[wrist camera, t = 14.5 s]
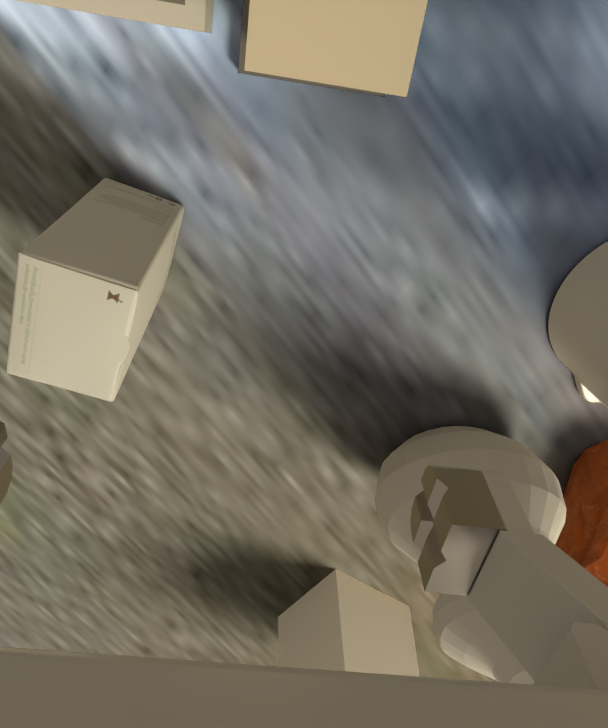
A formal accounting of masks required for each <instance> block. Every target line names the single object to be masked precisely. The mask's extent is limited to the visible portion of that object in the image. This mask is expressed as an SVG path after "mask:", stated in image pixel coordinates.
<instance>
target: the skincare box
mask: <svg viewBox="0 0 608 728" xmlns="http://www.w3.org/2000/svg"><path fill="white" fill-rule="evenodd" d="M183 213H184V206H183V205H180V204H178V203H175V202H172V201H169V200H167V199H164V198H161V197H159V196H156V195H153V194H150V193H148V192H145V191H142V190H139V189H136V188H134V187H131V186H128V185H125V184H122V183H120V182H117V181H114V180H111V179H108V178H104V179H103V180H102V181H101V182H100V183H99V184H97V185H96V186H95V187H94V188H93V189H92V190H90V191H89V192H88V193H87V194H86V195H85V196H84V197H83V198H81V199H80V200H79V201H78V202H77V203H76V204H75V205H74V206H72V207H71V208H70V209H69V210H68V211H67V212H66V213H64V214H63V215H62V216H61V217H60V218H59V219H58V220H57V221H55V222H54V223H53V224H52V225H51V226H50V227H48V228H47V229H46V230H45V231H44V232H43V233H42V234H41V235H39V236H38V237H37V238H36V239H35V240H34V241H33V242H31V243H30V244H29V245H28V246H27V247H26V248H25V249H23V250H22V251H21V252H19V254H18V265H17V274H16V283H15V292H14V301H13V310H12V319H11V327H10V337H9V348H8V358H7V373H8V374H12V375H16V376H19V377H23V378H27V379H30V380H34V381H38V382H42V383H46V384H49V385H53V386H57V387H60V388H64V389H67V390H71V391H74V392H78V393H82V394H85V395H89V396H92V397H96V398H100V399H103V400H107V401H110V402H112V401H113V400H114V399H115V397H116V395H117V393H118V390H119V388H120V386H121V383H122V381H123V379H124V377H125V374H126V372H127V370H128V368H129V365H130V363H131V361H132V359H133V356H134V354H135V352H136V349H137V347H138V345H139V343H140V341H141V338H142V336H143V334H144V332H145V330H146V327H147V325H148V323H149V320H150V318H151V316H152V314H153V311H154V309H155V307H156V305H157V303H158V301H159V298H160V296H161V294H162V292H163V289H164V286H165V283H166V279H167V276H168V272H169V269H170V265H171V261H172V258H173V254H174V250H175V246H176V242H177V238H178V234H179V230H180V226H181V222H182V217H183Z"/></svg>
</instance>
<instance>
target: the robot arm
mask: <svg viewBox="0 0 608 728" xmlns="http://www.w3.org/2000/svg"><path fill="white" fill-rule="evenodd" d="M548 331H549V338H550V342H551V345H552V348H553V350H554V352H555V354H556V355H557V357H558V358H559V359H560V360H561V362H562V363H563V364H564V365H566V366H567V367H568V368H569V369H570V371H571V372H572V373H573V375H574V378H575V382H576V386H577V389H578V392H579V393H580V395H581V396H582V397H583V398H585V399H586V400H587V401H589V402H601V403H603V404H604V405H605V406H606V407H607V408H608V241H607V242H606V243H604V244H602V245H601V246H599V247H598V248H596V249H595V250H593V251H592V252H591V253H590V254H588V255H587V256H586V257H585V258H584V259H583V260H581V261H580V262H579V263H578V264H577V265H576V267H575V268H574V269H573V270H572V271H571V272H570V274H569V275H568V276H567V277H566V279H565V280H564V282H563V283H562V285H561V286H560V288H559V290H558V292H557V294H556V296H555V298H554V301H553V304H552V307H551V310H550V315H549V323H548ZM6 439H7V433H6V428H5V424H4V423H3V422H1V421H0V503H1V502H2V500H3V498H4V497H5V495H6V494H7V491H8V488H9V485H10V482H11V478H12V460H11V455H10V454H9V453H8V452H7V451H6V450H5V449H4V448H3V447H2V444H3V443H4V442H5V440H6ZM421 482H422V485H423V489H424V490H423V491H422V492H420V493H419V494H418V495H416V496H415V499H414V502H413V506H412V510H411V520H410V524H411V534H412V539H413V543H414V544H415V545H416V546H417V547H418V548H419V549H420V550H421V551H422V552H421V554H420V557H419V560H418V565H419V569H420V573H421V578H422V582H423V586H424V590H425V591H426V592H434V593H443V594H452V595H461V596H468V600H469V601H470V602H471V603H472V605H473V606H474V607H475V608H476V610H477V611H478V612H479V613H480V614H481V616H482V617H483V618H484V619H485V621H486V622H487V623H488V624H489V626H490V627H491V628H492V629H493V630H494V632H495V633H496V634H497V635H498V637H499V638H500V639H501V640H502V642H503V643H504V644H505V645H506V646H507V648H508V649H509V650H510V651H511V653H512V654H513V655H514V656H515V658H516V659H517V660H518V661H519V662H520V664H521V665H522V666H523V667H524V669H525V670H526V671H527V672H528V674H529V675H530V676H531V677H532V678H533V680H534V681H535V682H534V684H533V685H531V684H517V683H503V682H489V681H476V680H462V679H448V678H434V677H420V676H406V675H391V674H377V673H363V672H349V671H334V670H320V669H306V668H292V667H277V666H263V665H249V664H235V663H221V662H207V661H193V660H179V659H165V658H151V657H137V656H123V655H109V654H95V653H82V652H68V651H54V650H40V649H26V648H12V647H0V728H608V587H607V586H606V585H605V584H603V583H602V582H601V581H600V580H598V579H597V578H596V577H595V576H593V575H592V574H591V573H590V572H588V571H587V570H586V569H585V568H583V567H582V566H581V565H580V564H578V563H577V562H576V561H575V560H573V559H572V558H571V557H570V556H568V555H567V554H566V553H565V552H563V551H562V550H561V549H560V548H559V547H557V546H556V545H555V544H554V543H552V542H551V541H550V540H549V539H547V538H546V537H545V536H544V535H541V534H535V533H534V531H533V529H532V526H531V524H530V522H529V520H528V518H527V516H526V514H525V512H524V510H523V508H522V506H521V504H520V502H519V500H518V498H517V496H516V494H515V492H514V490H513V488H512V486H511V484H510V482H509V480H508V478H507V476H506V475H505V474H504V473H503V472H502V471H491V470H479V469H477V470H473V469H463V468H453V467H443V466H433V465H428V466H427V468H426V469H425V470H424V473H423V476H422V478H421Z"/></svg>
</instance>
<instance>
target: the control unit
mask: <svg viewBox="0 0 608 728" xmlns="http://www.w3.org/2000/svg"><path fill="white" fill-rule="evenodd" d="M427 2H428V0H243V12H242V25H241V39H240V52H239V66H238V73H243V74H249V75H255V76H261V77H267V78H273V79H279V80H285V81H291V82H298V83H304V84H310V85H316V86H322V87H328V88H334V89H340V90H346V91H352V92H358V93H365V94H371V95H377V96H383V97H385V94H390V95H397V96H403V97H407V93H408V89H409V84H410V80H411V75H412V70H413V66H414V61H415V57H416V52H417V48H418V43H419V39H420V34H421V30H422V25H423V20H424V16H425V11H426V7H427Z"/></svg>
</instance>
